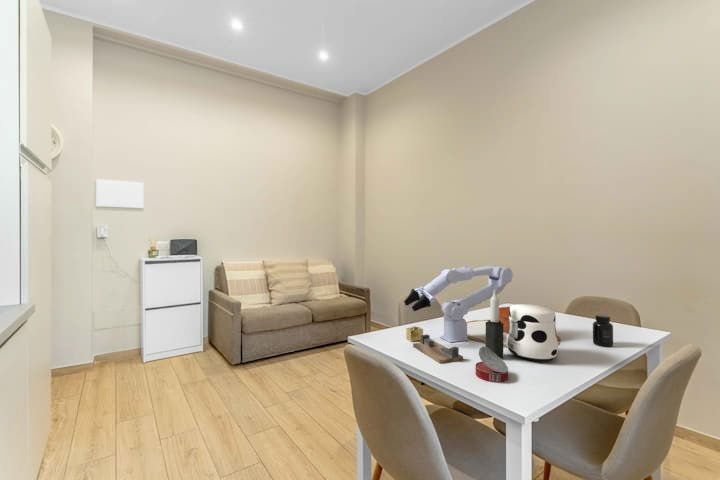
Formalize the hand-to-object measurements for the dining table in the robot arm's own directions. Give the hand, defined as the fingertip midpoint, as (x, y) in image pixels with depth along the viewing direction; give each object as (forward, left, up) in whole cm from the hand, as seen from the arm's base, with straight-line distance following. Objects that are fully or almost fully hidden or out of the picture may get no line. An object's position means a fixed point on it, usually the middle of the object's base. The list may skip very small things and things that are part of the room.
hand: (408, 306), depth 139 cm
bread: (-56, +6, -16) cm, 59 cm away
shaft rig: (-4, +14, -15) cm, 22 cm away
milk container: (-36, +29, -16) cm, 49 cm away
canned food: (-9, +38, -16) cm, 43 cm away
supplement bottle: (-74, +30, -16) cm, 82 cm away
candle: (-22, +25, -16) cm, 37 cm away
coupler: (-4, -3, -16) cm, 16 cm away
